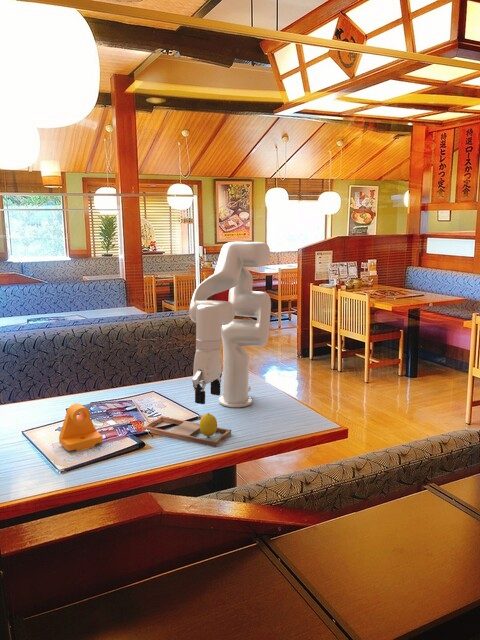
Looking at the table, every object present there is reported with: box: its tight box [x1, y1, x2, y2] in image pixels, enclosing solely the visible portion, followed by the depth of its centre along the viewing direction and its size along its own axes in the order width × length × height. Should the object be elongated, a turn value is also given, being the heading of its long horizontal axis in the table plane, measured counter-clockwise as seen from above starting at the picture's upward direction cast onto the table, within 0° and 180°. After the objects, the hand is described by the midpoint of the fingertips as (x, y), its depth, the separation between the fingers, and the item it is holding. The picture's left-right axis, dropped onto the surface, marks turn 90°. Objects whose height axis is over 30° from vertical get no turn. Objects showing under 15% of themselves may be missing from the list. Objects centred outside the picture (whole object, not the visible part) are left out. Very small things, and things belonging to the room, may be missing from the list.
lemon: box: [199, 413, 218, 439], centre depth 160 cm, size 6×6×8 cm
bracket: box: [58, 403, 103, 452], centre depth 153 cm, size 11×7×12 cm, turn 129°
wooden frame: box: [141, 415, 232, 448], centre depth 163 cm, size 11×27×2 cm, turn 65°
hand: (207, 399), depth 157 cm, fingers open, 9 cm apart
